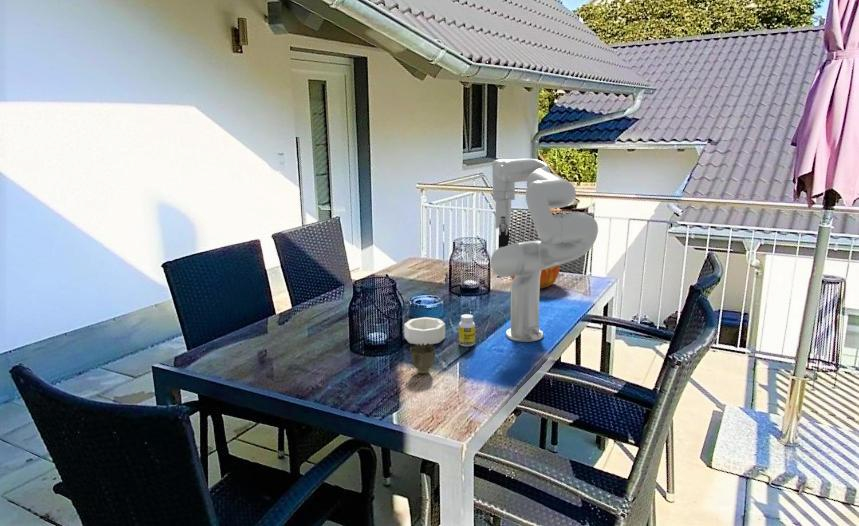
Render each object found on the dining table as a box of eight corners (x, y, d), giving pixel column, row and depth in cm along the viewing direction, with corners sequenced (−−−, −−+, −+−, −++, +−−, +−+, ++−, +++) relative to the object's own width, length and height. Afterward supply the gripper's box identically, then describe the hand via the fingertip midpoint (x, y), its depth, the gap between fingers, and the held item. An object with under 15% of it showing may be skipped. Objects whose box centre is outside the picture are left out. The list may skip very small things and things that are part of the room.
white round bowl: (449, 341, 199) (449, 327, 198) (412, 346, 195) (412, 332, 194) (436, 328, 211) (435, 315, 210) (401, 334, 207) (400, 320, 206)
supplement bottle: (463, 348, 193) (463, 319, 191) (456, 342, 198) (455, 314, 196) (478, 345, 195) (477, 317, 193) (470, 339, 200) (470, 312, 198)
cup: (407, 370, 177) (406, 345, 175) (429, 365, 180) (429, 341, 178) (416, 379, 171) (415, 354, 169) (439, 375, 173) (439, 349, 172)
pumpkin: (502, 290, 256) (502, 245, 252) (515, 277, 277) (515, 235, 272) (555, 294, 248) (556, 248, 243) (564, 281, 268) (566, 237, 263)
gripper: (494, 193, 214) (495, 239, 217) (491, 198, 197) (491, 248, 201) (515, 192, 212) (515, 239, 216) (513, 198, 196) (514, 248, 199)
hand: (504, 244), depth 208 cm, fingers open, 9 cm apart
